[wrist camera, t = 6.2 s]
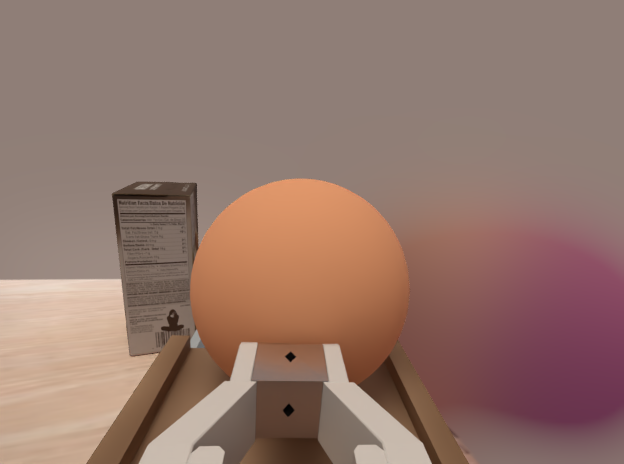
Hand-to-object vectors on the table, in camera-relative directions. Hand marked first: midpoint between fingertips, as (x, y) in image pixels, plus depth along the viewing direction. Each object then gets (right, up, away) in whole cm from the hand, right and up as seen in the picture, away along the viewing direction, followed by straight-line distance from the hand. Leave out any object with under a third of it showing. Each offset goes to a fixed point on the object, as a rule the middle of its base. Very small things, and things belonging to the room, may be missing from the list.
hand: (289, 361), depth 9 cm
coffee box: (-15, -7, +24) cm, 30 cm away
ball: (0, +2, +5) cm, 5 cm away
